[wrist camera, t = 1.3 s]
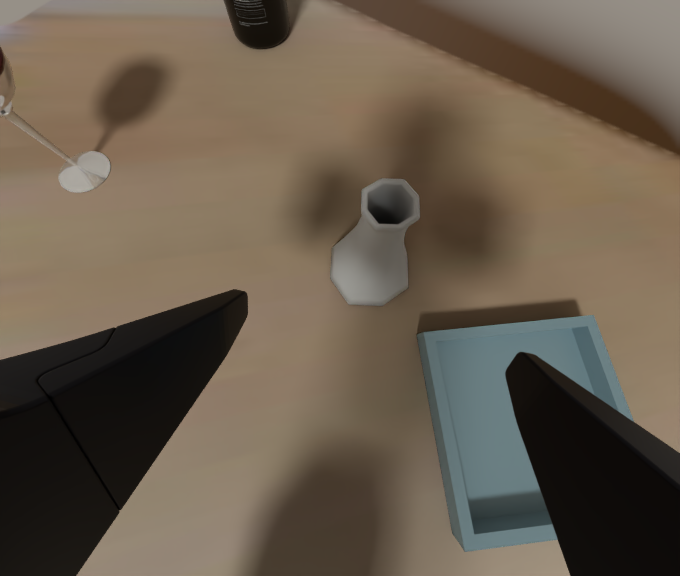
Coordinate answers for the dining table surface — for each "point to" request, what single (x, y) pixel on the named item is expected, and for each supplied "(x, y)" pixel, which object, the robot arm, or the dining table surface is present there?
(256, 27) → the supplement bottle
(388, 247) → the flask
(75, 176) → the wineglass
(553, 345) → the tray
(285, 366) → the dining table surface
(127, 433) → the robot arm
